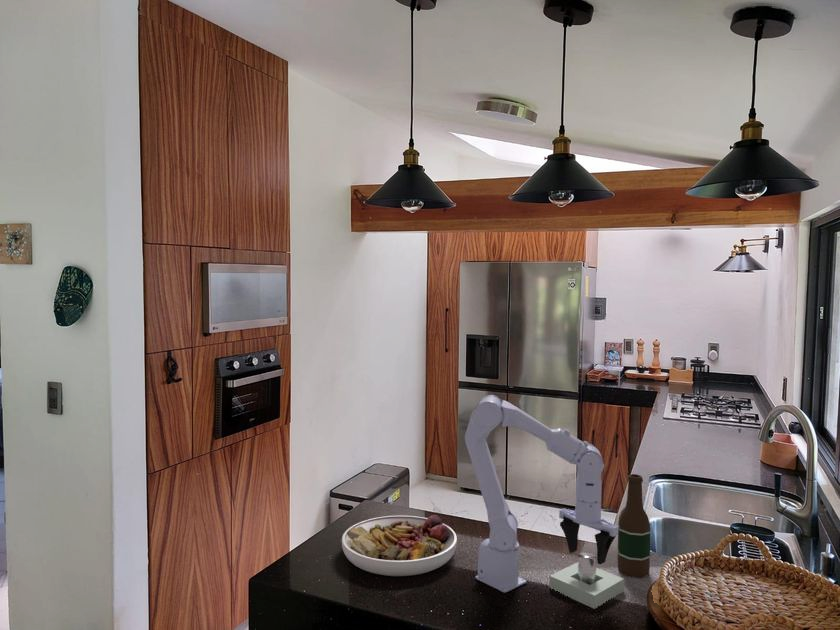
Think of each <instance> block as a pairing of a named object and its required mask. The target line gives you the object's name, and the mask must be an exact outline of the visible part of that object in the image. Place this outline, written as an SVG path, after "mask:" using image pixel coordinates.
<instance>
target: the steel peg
mask: <svg viewBox="0 0 840 630" xmlns="http://www.w3.org/2000/svg"><path fill="white" fill-rule="evenodd" d="M577 556H578V557H577V559H578V560H577V562H578V580H579V581H582V582H584V583H586V584H589V585H592V584H593V583H595V582H596V568H597V555H595V554H594V553H590V552H580V553H578V555H577Z"/></svg>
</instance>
